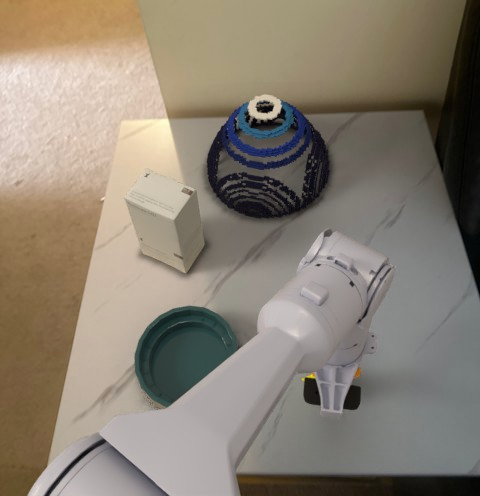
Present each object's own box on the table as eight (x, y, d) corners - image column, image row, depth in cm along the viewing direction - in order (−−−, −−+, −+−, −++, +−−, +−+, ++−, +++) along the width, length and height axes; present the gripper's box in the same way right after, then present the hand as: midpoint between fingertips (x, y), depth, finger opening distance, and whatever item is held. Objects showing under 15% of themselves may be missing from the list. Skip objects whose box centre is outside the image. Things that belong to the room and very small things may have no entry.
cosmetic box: (142, 254, 85) (118, 198, 74) (163, 223, 88) (143, 165, 77) (189, 276, 83) (172, 221, 71) (209, 243, 86) (196, 186, 74)
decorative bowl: (317, 228, 86) (321, 171, 74) (193, 205, 90) (179, 148, 79) (338, 132, 97) (344, 69, 86) (227, 116, 101) (219, 54, 90)
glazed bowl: (231, 425, 70) (228, 416, 66) (129, 409, 72) (121, 400, 69) (247, 324, 77) (245, 312, 74) (155, 312, 79) (149, 300, 76)
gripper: (381, 405, 48) (365, 441, 59) (383, 256, 57) (368, 312, 68) (299, 393, 49) (298, 431, 60) (312, 249, 58) (309, 305, 69)
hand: (331, 367), depth 64 cm, fingers open, 7 cm apart
